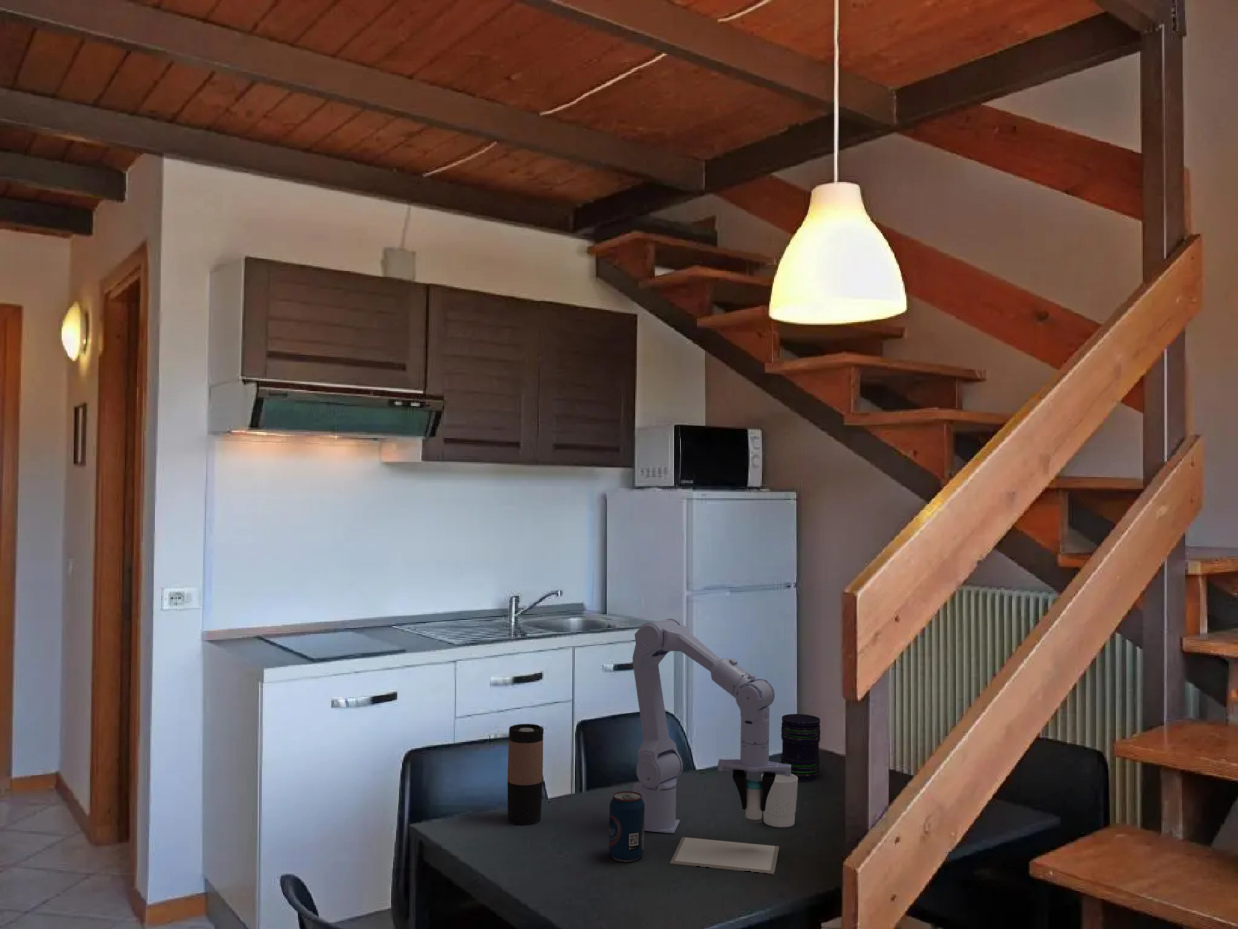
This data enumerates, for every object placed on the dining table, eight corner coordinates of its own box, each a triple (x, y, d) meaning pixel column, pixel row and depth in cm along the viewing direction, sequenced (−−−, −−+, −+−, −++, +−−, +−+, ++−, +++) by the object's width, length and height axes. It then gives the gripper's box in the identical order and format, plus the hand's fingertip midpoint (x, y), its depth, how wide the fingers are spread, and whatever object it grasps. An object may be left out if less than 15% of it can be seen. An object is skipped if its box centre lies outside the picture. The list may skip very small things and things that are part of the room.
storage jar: (780, 781, 250) (781, 721, 250) (780, 770, 260) (781, 713, 260) (820, 784, 248) (821, 723, 249) (819, 773, 258) (820, 715, 258)
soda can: (603, 852, 198) (604, 792, 199) (635, 848, 201) (636, 788, 201) (616, 865, 192) (618, 802, 192) (649, 860, 195) (650, 798, 195)
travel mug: (500, 823, 215) (502, 729, 215) (516, 812, 222) (518, 722, 222) (531, 828, 212) (533, 733, 212) (547, 817, 219) (549, 726, 220)
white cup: (796, 830, 214) (797, 783, 214) (759, 827, 216) (760, 780, 216) (797, 818, 222) (798, 773, 222) (761, 815, 223) (762, 770, 224)
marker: (744, 823, 200) (745, 782, 200) (746, 817, 203) (746, 778, 203) (761, 824, 199) (762, 784, 200) (762, 819, 202) (762, 779, 203)
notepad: (669, 864, 193) (669, 861, 193) (682, 838, 208) (682, 836, 208) (774, 874, 189) (774, 872, 189) (779, 847, 203) (779, 845, 203)
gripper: (716, 743, 199) (715, 812, 199) (790, 748, 196) (789, 818, 196) (720, 735, 206) (719, 801, 206) (791, 740, 203) (790, 807, 203)
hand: (753, 809), depth 201 cm, fingers closed on marker, 3 cm apart
